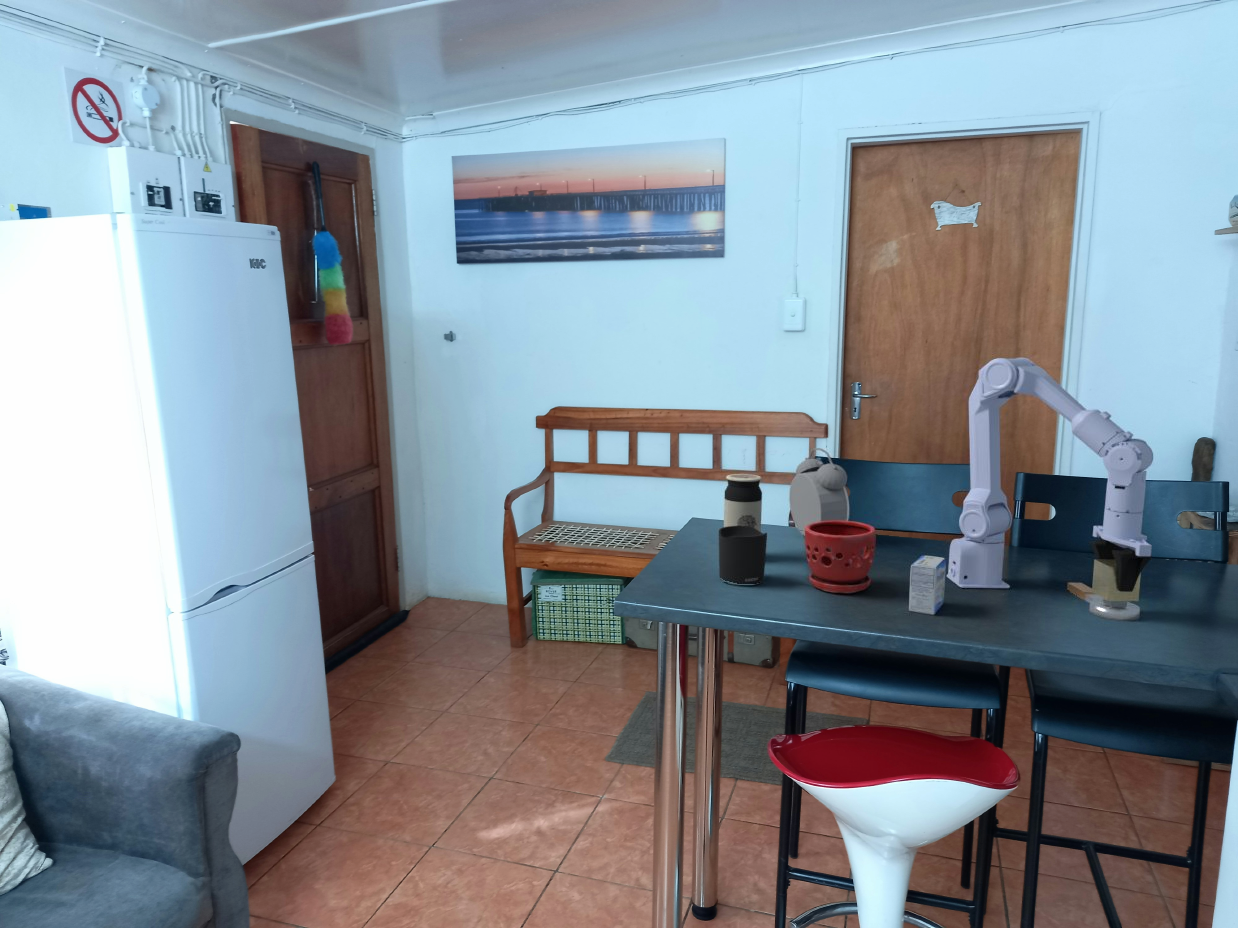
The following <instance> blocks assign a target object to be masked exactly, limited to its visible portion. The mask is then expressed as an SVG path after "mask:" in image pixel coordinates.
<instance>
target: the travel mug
mask: <svg viewBox="0 0 1238 928" xmlns="http://www.w3.org/2000/svg"><path fill="white" fill-rule="evenodd" d="M725 478H726V481H727V486H726V488H725V490H724V501H723V503H724V505H723V506H724V507H723V509H724V510H723V527H728V526H749V527H753V528H755V529H757V530H758V531H760V532H761V533H762V511H763V510H762V509H763V502H762V501H763V491H762V489H761V487H760V482H761V480H762V476H760V475H756V474H751V473H749V474H748V473H733V474H728V475H726V477H725Z"/></svg>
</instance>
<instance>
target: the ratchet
mask: <svg viewBox="0 0 1238 928" xmlns="http://www.w3.org/2000/svg"><path fill="white" fill-rule="evenodd" d="M1066 586H1067V587H1066V591H1067V590H1069V591H1070V592H1069V591H1068V592H1069V593H1071V594H1072V593H1073V595H1074V594H1075V595H1074V596H1076V595H1077V596H1076V597H1078V598H1079V599H1081V600H1083V601H1085V602H1087V603H1089V609H1088V611H1089V612H1090V613H1091V614H1092V615H1095V616H1097V617H1099V618H1102V619H1103V618H1104V619H1108V620H1111V621H1112V620H1113V621H1120V622H1121V621H1123V622H1130V621H1131V622H1132V621H1133V622H1134V621H1138V620H1139V619H1140V611H1141V607H1140V606H1138V605H1137V604H1135V603H1132V602H1131V601H1107V600H1105V599H1103V598H1101V597H1100V596H1098V595H1096V594H1094V593H1093V592H1092V587H1089V586H1088V585H1086V584H1084V583H1082V582H1067V585H1066Z"/></svg>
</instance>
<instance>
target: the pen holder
mask: <svg viewBox="0 0 1238 928" xmlns="http://www.w3.org/2000/svg"><path fill="white" fill-rule="evenodd" d="M767 539H768V532H765V533H763V532H762V531H761V532H760V531H758V530H757V529H755V528H753V527H749V526H728V527H724V526H723V527H721V528H719V529H718V566H719V569H718V570H719V571H718V573H719V579H720V578H722V579H723V580H725V581H729V582H733V583H737V584H757V583H760V582H762V583H763V581H764V578H765V568H766V556H767V555H766V554H767ZM760 584H761V583H760Z"/></svg>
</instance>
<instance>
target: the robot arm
mask: <svg viewBox="0 0 1238 928" xmlns="http://www.w3.org/2000/svg"><path fill="white" fill-rule="evenodd" d="M1018 394H1020V395H1027V396H1028V395H1029V396H1035V397H1036V398H1038V399H1039V400H1040V401H1042V402H1044V404H1046V405H1047V406H1048V407H1049V408H1051V409H1052V410H1053V411H1055V412H1056V413H1058V414H1059V415H1061V416H1062V417H1063V418H1065V420H1067V421H1069V422H1070V424H1071V432H1072V434H1073V435H1074V436H1075V437H1076V438H1077V439H1079V440H1080V441H1081V442H1082V443H1083V444H1085V445H1086V447H1088V448H1089V449H1090V450H1091V451H1093V452H1094V453H1095V454H1096V455H1097V456H1098V457H1100V458H1102V462H1103V465H1104V468H1105V469H1106V470H1107V472H1108V474H1107V483H1106V490H1105V491H1106V493H1105V503H1104V512H1103V522H1102V523H1103V524H1102V525H1093V531H1092V537H1094V538H1099V539H1097V540H1092V541H1090V543H1089V544H1090V545H1089V546H1090V547H1091V549H1092V551H1093V553H1094V556H1095V559H1115V562H1116V566H1117V583H1118V589H1119V591H1120V592H1132V591H1133V589H1134V587H1135V584H1136V582H1137V579H1138V577H1139V575H1140V573H1141V574H1142V571H1143V570H1144V568H1145V567H1146V565H1147V564H1148V562H1150V561H1151V560H1152V549H1153V548H1152V544H1151V543H1148V542H1147V540H1148V536H1147V535H1144V534H1143V533H1142V527H1143V526H1142V525H1143V517H1144V515H1143V514H1144V509H1145V508H1144V506H1145V494H1146V481H1147V469H1149V468H1150V466H1151V465H1152V464H1153V461H1154V452H1153V450H1152V448H1151V447H1150V446H1149V444H1148V443H1147V441H1146V440H1144V439H1141V438H1133V437H1134V434H1133V433H1132V432H1131V431H1125V430H1124V429H1123V428H1121V427H1120V426H1119V425H1118V424H1116V423H1115V422H1114V421H1113V420H1111V418H1112V415H1111V414H1110V413H1109V412H1108V411H1100V410H1099V409H1098V408H1097V409H1095V408H1094V409H1086V407H1084V406H1083V405H1082V404H1081V403H1080V402H1079V401H1078V400H1076V399H1075V397H1073V395H1071V394H1070V393H1069V392H1068V391H1067V390H1066V389H1065V388H1064V387H1063V386H1062V385H1060V383H1058V382H1057V381H1056V380H1055V379H1054V378H1052V377H1051V376H1050V375H1049V374H1048V373H1047V371H1046V370H1045V369H1044V368H1042V367H1041V366H1039V365H1036V364H1035V362H1034V361H1032V360H1031V359H1029V358H1026V357H1016V358H1004V357H998V358H994V359H992V360H990V361H989V362H987V364H985V365H984V366H982V368H981V369H979V370H978V378H977V380H976V383H975V385H974V387H973V389H972V391H971V393H970V395H969V398H968V426H969V427H968V428H969V429H968V431H969V438H968V439H969V472H970V473H969V475H970V476H969V477H970V489H969V492H968V494H967V495H966V497H965V499H964V500H963V502H962V503H963V504H962V505H963V506H962V507H963V509H962V512H961V514H960V516H959V521H958V525H959V529H960V531H961V533H962V534H963V535H964V536H963V537H962V538H954V539H952V541H950V542H951V543H950V545H949V556H948V568H947V569H948V571H947V572H948V573H947V574H946V578H948V579H949V580H950V581H952V582H953V583H954V584H956V585H957V586H958V587H960V588H961V589H962V588H965V589H967V588H968V589H969V588H970V589H1009V588H1010V587H1011V585H1009V584H1008V583H1007V582H1005V581H1004V580H1003V569H1004V568H1003V567H1004V566H1003V565H1004V554H1005V553H1004V552H1005V542H1006V541H1005V532H1006V533H1007V531H1008V530H1010V528H1011V526H1012V523H1013V515H1012V512H1011V511H1010V508H1009V506H1008V498H1007V496H1006V494H1005V493H1004V492H1003V490H1002V487H1001V485H1002V484H1001V481H1002V480H1001V477H1002V476H1001V438H1000V436H1001V433H1000V408H1001V407H1002V406H1003V405H1005V404H1006V403H1007V402H1008V401H1009V400H1010V399H1011V398H1013V397H1014V396H1016V395H1018Z"/></svg>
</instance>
